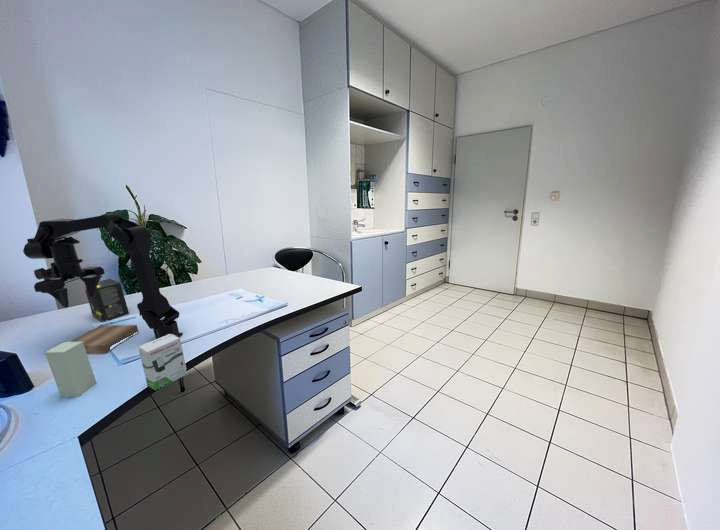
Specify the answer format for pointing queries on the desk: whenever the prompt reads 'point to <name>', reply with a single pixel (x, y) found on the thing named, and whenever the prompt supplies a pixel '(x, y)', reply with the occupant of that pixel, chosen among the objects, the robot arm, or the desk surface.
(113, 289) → the tampon box
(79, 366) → the sage block
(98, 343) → the walnut base board
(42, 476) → the desk surface
